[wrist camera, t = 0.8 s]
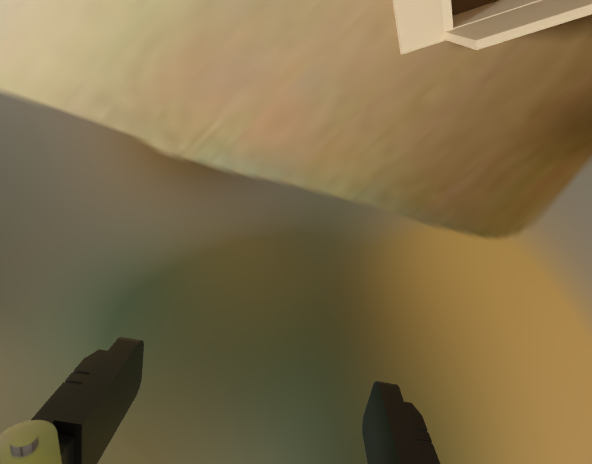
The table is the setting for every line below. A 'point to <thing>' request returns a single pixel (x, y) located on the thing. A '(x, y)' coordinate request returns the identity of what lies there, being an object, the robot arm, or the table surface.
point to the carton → (479, 21)
